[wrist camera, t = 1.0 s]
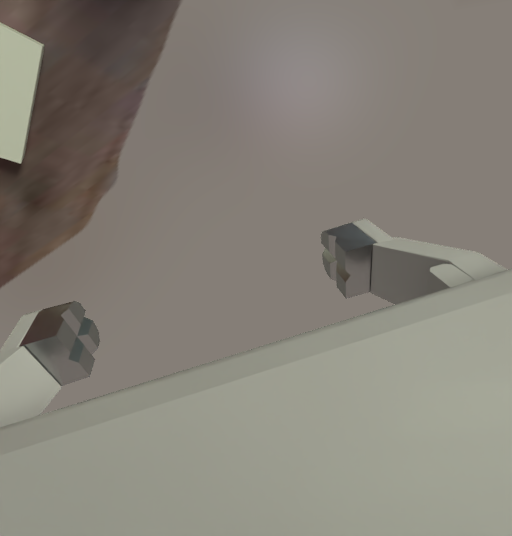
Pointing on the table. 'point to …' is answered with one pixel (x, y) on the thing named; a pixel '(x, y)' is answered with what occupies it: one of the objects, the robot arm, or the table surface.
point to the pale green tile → (17, 90)
